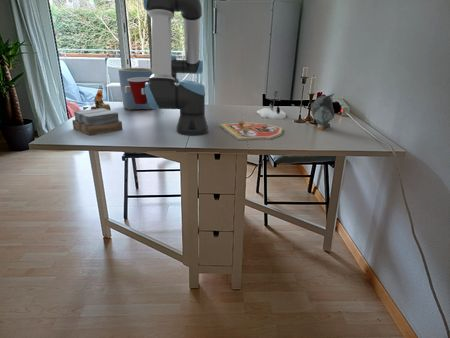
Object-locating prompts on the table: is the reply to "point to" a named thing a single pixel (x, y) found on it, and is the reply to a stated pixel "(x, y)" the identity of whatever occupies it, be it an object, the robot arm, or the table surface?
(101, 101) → the orange brown statuette
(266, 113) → the figurine
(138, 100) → the plastic cup
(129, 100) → the planter
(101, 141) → the table surface
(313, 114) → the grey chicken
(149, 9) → the robot arm
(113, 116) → the stack of books
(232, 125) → the knob puzzle
